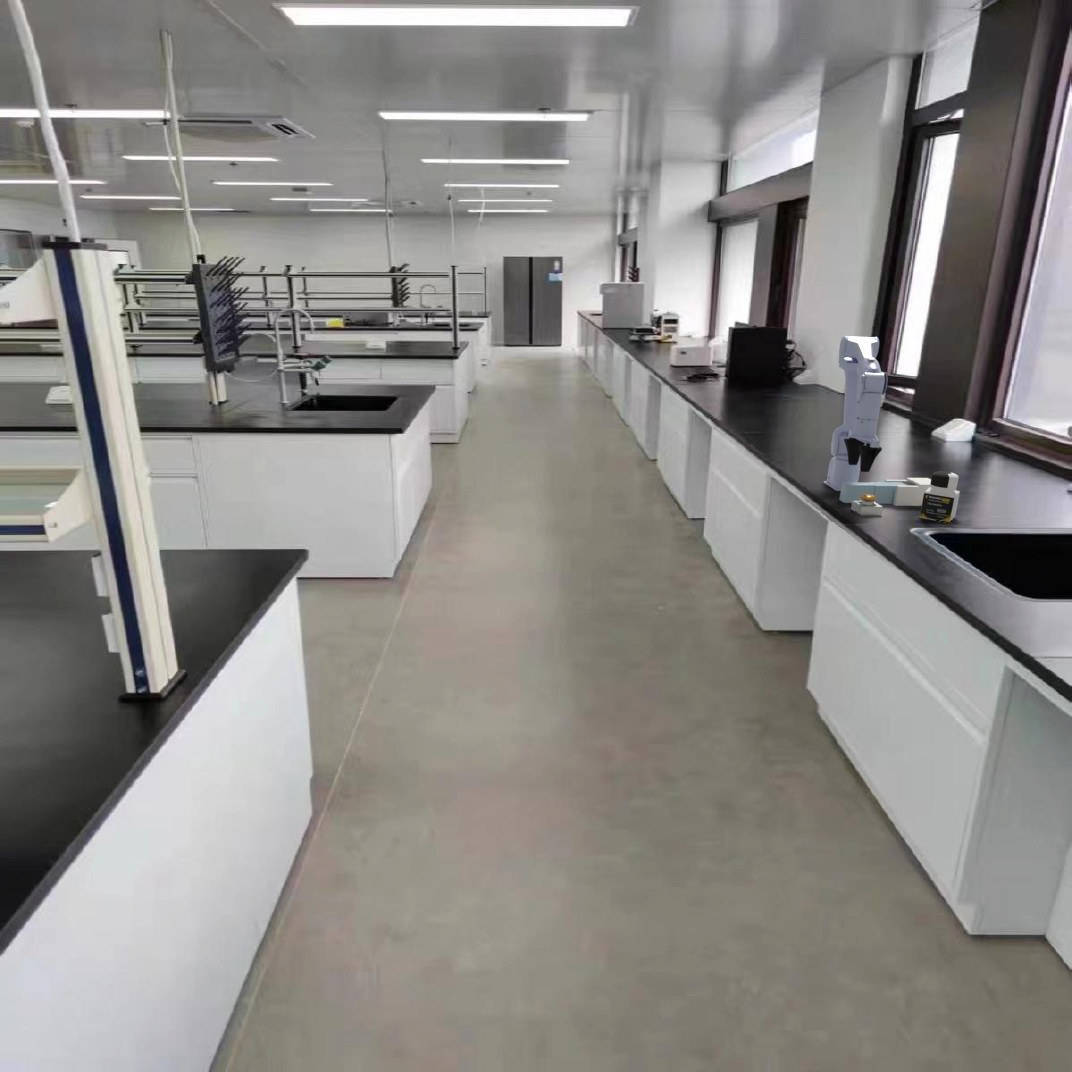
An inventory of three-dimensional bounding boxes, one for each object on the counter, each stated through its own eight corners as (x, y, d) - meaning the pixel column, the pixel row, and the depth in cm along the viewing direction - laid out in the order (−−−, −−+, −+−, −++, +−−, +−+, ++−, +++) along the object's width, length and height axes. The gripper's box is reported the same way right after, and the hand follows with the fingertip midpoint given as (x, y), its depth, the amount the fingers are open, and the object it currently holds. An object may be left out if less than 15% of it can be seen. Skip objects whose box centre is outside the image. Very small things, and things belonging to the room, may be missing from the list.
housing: (881, 498, 214) (885, 477, 212) (923, 498, 215) (927, 477, 213) (894, 506, 207) (898, 484, 205) (937, 506, 208) (942, 484, 206)
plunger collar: (850, 509, 203) (852, 500, 202) (871, 509, 203) (872, 500, 202) (860, 515, 198) (861, 506, 197) (881, 516, 198) (882, 506, 197)
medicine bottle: (918, 518, 197) (927, 472, 193) (925, 512, 202) (933, 468, 198) (949, 523, 193) (958, 477, 189) (955, 517, 198) (964, 472, 194)
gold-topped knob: (856, 508, 202) (858, 493, 201) (870, 508, 202) (872, 494, 201) (862, 512, 198) (864, 497, 197) (876, 512, 198) (879, 498, 197)
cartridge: (838, 499, 212) (841, 481, 210) (898, 499, 212) (901, 482, 211) (844, 503, 208) (847, 485, 206) (905, 503, 209) (908, 486, 207)
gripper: (840, 413, 210) (833, 461, 214) (863, 423, 196) (855, 474, 200) (865, 413, 210) (858, 462, 214) (890, 423, 196) (881, 474, 201)
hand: (858, 468), depth 207 cm, fingers open, 7 cm apart
